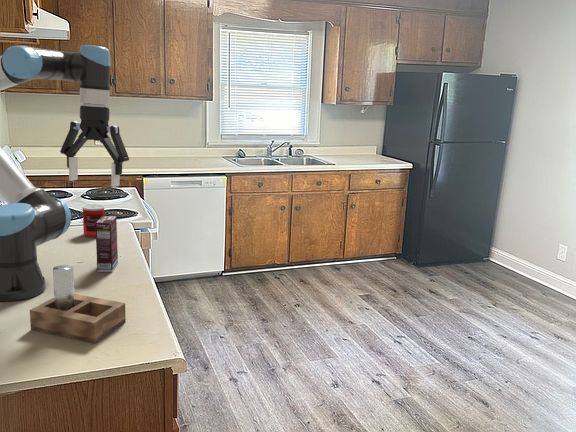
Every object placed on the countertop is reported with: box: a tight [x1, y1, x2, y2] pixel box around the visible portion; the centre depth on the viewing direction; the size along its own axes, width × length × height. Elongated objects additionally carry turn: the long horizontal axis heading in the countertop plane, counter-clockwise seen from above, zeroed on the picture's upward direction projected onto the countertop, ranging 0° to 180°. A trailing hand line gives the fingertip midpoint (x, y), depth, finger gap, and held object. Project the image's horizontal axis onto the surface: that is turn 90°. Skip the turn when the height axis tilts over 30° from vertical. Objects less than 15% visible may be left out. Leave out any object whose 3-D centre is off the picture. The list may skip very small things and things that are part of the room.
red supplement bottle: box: [82, 203, 106, 238], centre depth 197 cm, size 8×8×11 cm
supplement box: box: [95, 215, 119, 273], centre depth 163 cm, size 9×5×16 cm, turn 6°
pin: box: [52, 264, 75, 311], centre depth 124 cm, size 4×4×13 cm
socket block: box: [29, 293, 127, 344], centre depth 125 cm, size 17×12×5 cm
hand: (94, 183), depth 145 cm, fingers open, 13 cm apart
